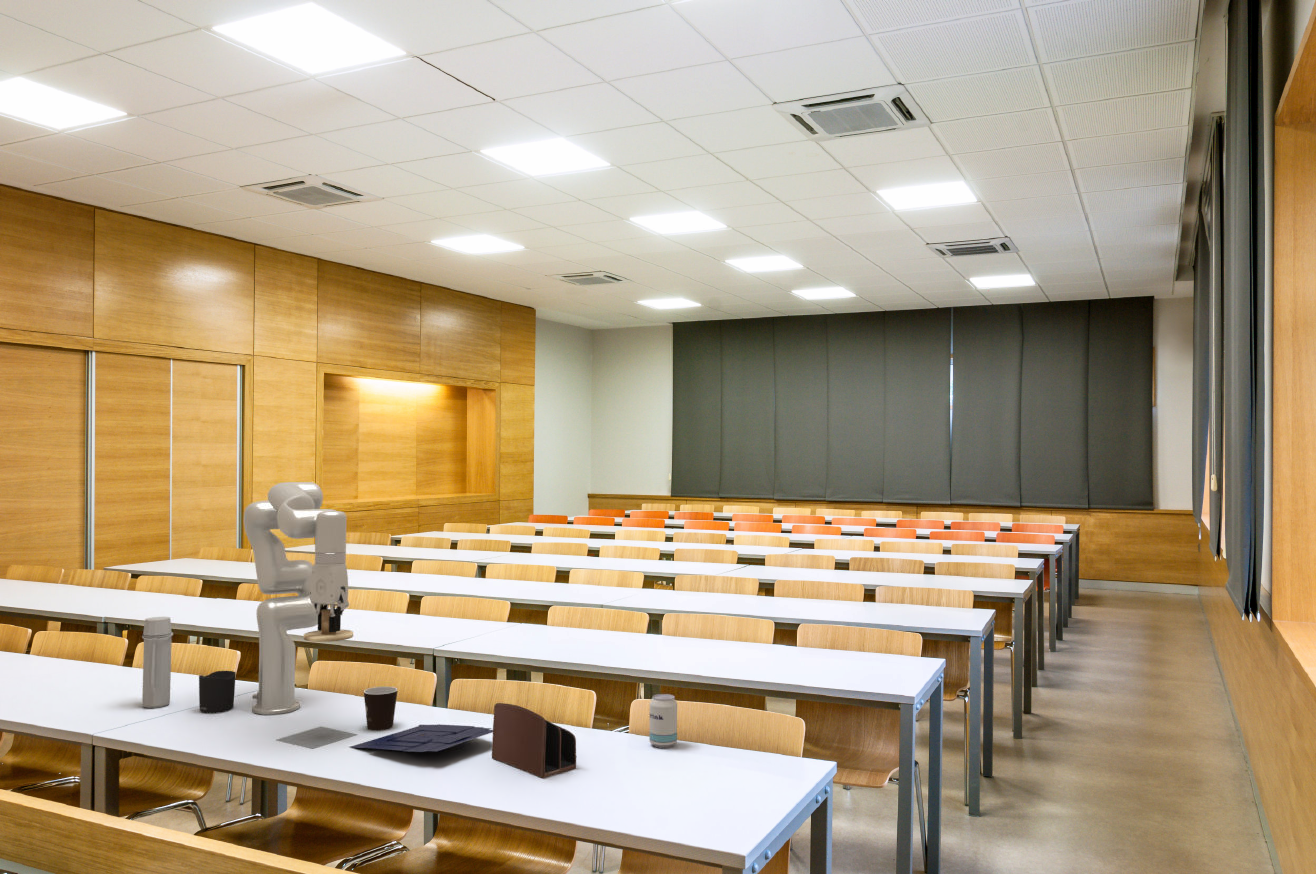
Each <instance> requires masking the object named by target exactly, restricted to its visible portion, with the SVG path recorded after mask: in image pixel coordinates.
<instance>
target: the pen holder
mask: <svg viewBox="0 0 1316 874" xmlns="http://www.w3.org/2000/svg"><path fill="white" fill-rule="evenodd" d="M236 674H237V673H236V671H234V670H217V671H213V672H212V673H210V674H207V675H198V695H199V696H198V697H199V699H198V701H199V702H198V703H199V712H201V713H202V714H221V713H226V712H229V711H231V710H232V709H233V708H234V706H235V704H234V702H235V693H236V691H235V690H236V677H237V676H236Z"/></svg>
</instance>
